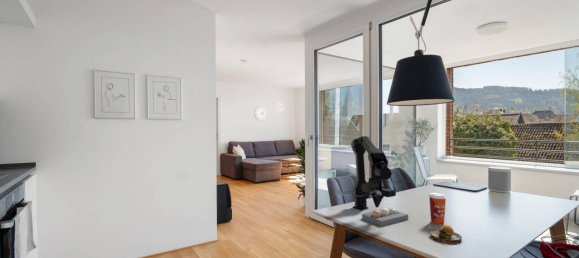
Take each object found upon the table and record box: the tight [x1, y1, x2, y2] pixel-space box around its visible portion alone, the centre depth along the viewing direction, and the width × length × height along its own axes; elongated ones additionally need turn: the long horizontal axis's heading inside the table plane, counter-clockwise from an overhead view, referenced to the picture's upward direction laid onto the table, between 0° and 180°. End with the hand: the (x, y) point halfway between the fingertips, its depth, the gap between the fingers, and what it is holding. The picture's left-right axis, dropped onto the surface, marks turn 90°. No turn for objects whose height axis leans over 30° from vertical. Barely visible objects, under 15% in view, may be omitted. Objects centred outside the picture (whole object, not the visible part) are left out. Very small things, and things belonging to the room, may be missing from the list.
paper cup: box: [428, 192, 447, 226], centre depth 138 cm, size 8×8×14 cm
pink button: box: [371, 209, 381, 218], centre depth 141 cm, size 4×4×4 cm
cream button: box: [380, 207, 390, 216], centre depth 144 cm, size 4×4×4 cm
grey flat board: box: [361, 208, 409, 227], centre depth 144 cm, size 13×19×2 cm
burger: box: [429, 224, 463, 245], centre depth 119 cm, size 12×12×8 cm
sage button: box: [389, 208, 398, 214], centre depth 147 cm, size 4×4×4 cm
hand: (376, 207), depth 141 cm, fingers closed
